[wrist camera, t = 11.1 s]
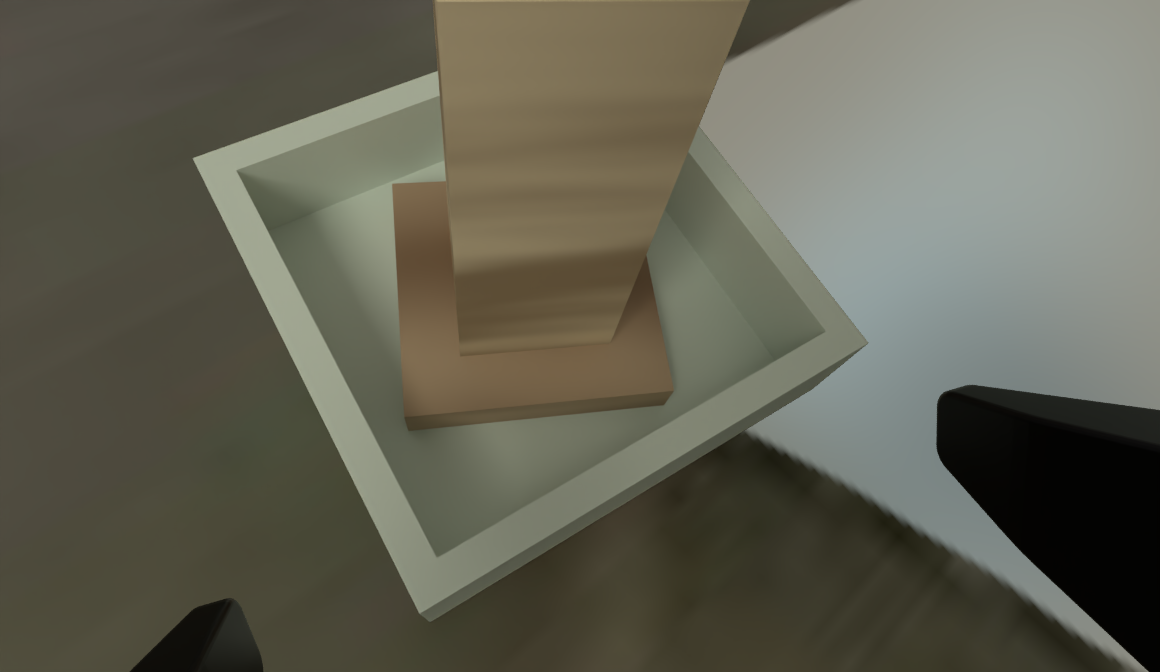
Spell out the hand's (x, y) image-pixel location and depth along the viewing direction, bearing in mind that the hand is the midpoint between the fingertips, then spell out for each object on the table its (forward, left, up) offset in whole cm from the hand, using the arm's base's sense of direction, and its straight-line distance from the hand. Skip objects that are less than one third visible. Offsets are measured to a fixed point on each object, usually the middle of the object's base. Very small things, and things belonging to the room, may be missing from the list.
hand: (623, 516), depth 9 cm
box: (+7, -3, -11) cm, 13 cm away
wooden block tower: (+7, -3, -10) cm, 13 cm away
